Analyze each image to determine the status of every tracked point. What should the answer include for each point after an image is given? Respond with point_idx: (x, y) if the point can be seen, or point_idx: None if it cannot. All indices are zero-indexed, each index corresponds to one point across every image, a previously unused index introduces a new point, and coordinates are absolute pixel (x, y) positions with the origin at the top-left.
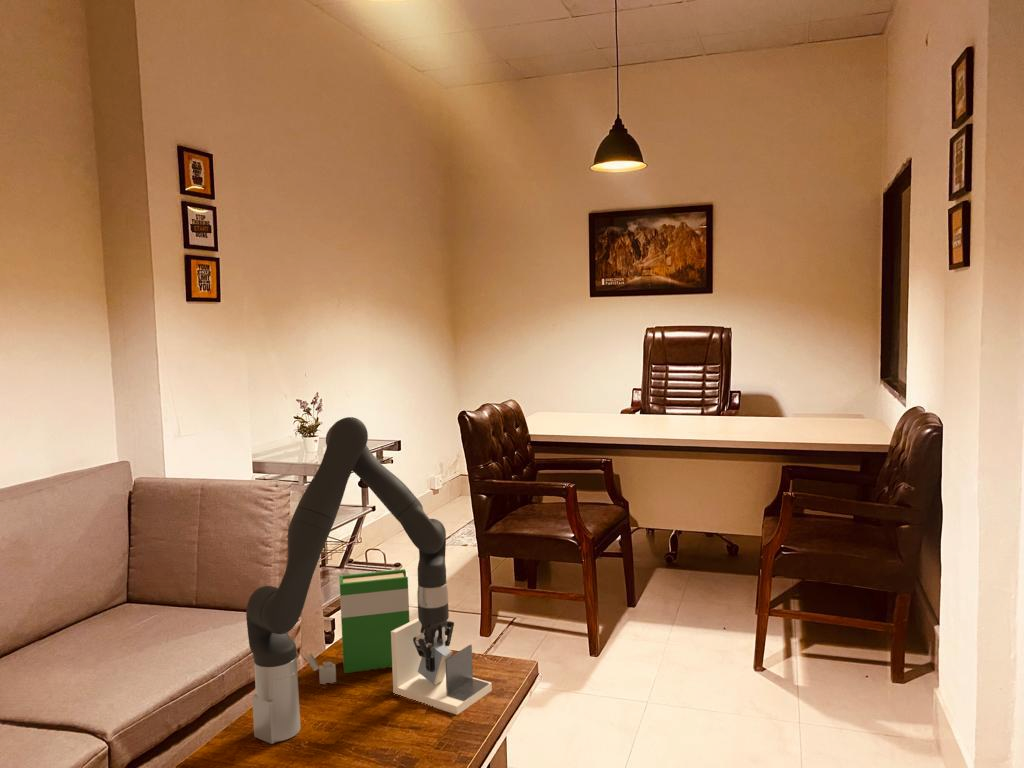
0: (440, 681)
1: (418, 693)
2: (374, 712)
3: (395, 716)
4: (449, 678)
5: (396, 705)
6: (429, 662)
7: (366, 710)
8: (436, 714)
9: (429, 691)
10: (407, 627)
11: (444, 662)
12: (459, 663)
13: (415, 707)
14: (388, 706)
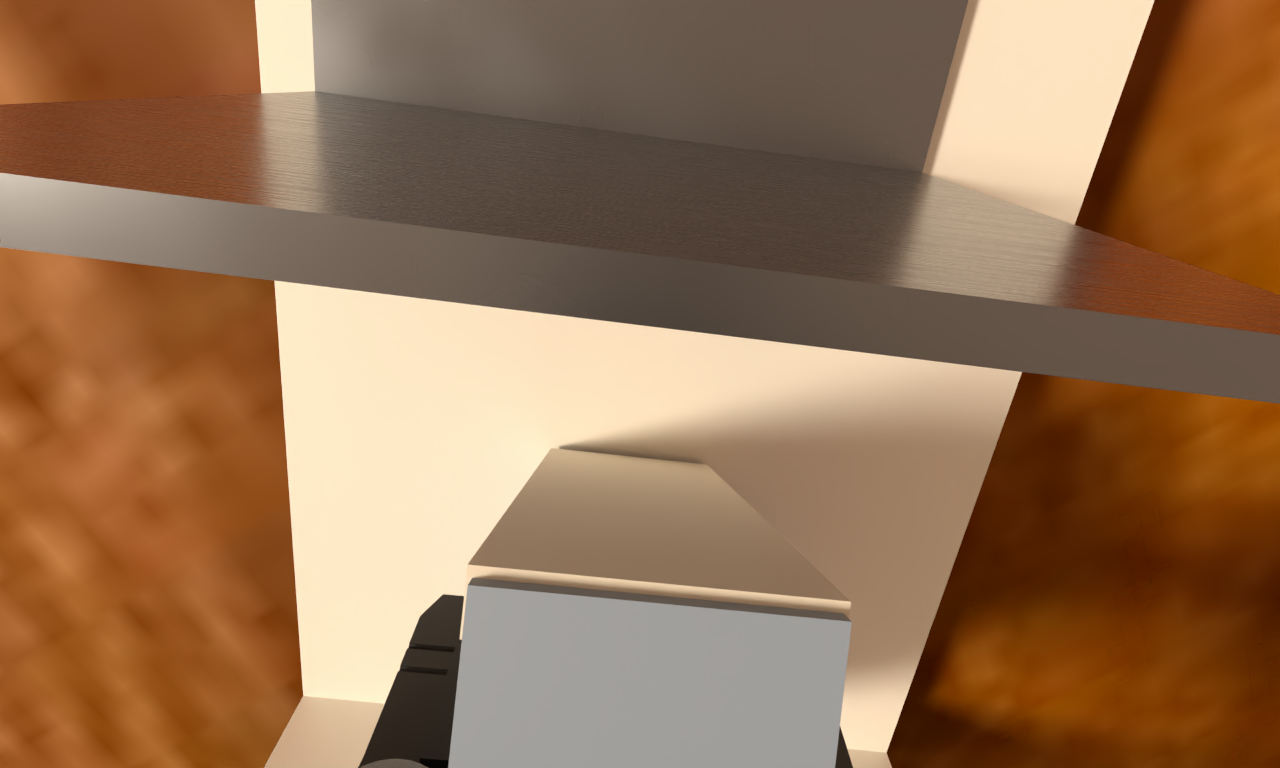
0: (612, 454)
1: (952, 528)
2: (1203, 696)
3: (1255, 517)
4: (964, 201)
5: (1043, 612)
6: (841, 756)
7: (1178, 759)
8: (1155, 155)
9: (868, 447)
10: None
11: (703, 532)
12: (618, 182)
13: (1042, 446)
14: (1076, 657)
